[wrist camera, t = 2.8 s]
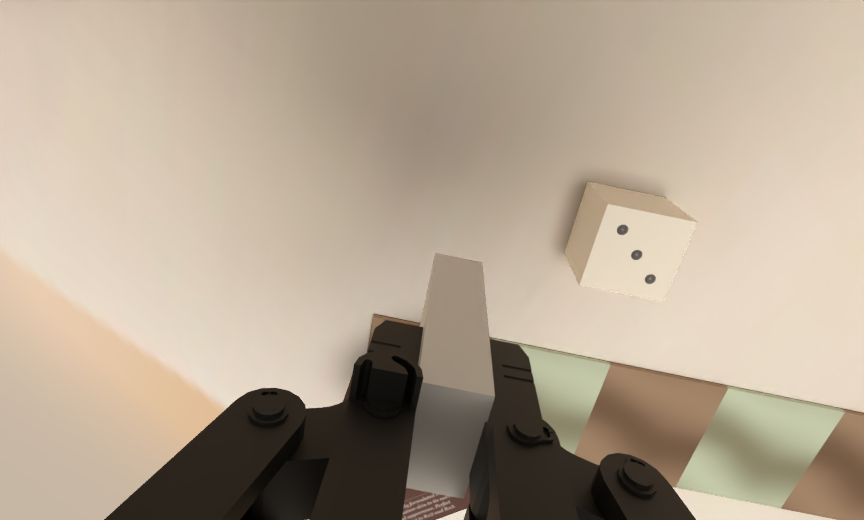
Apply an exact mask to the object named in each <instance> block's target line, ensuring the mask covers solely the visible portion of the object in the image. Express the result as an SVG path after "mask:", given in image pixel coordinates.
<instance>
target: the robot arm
mask: <svg viewBox="0 0 864 520" xmlns="http://www.w3.org/2000/svg"><path fill="white" fill-rule="evenodd" d="M531 371H532V370H531V365H530V360H529V357H528V356H527V354H526V353H525V352H524V351H523V349H522V348H521V347H520V346H519V345H518V344H513V343H508V342H503V341H498V340H493V339H489V328H488V318H487V307H486V297H485V287H484V276H483V266H482V262H477V261H472V260H467V259H462V258H457V257H452V256H447V255H442V254H437V253H435V256H434V261H433V266H432V271H431V275H430V280H429V285H428V289H427V294H426V299H425V304H424V308H423V313H422V318H421V322H420V326H415V325H410V324H405V323H400V322H395V321H390V320H385V321H384V322H382V323H381V324H380V325H379V326H377V327H376V328H375V329H374V333H373V336H372V339H371V342H370V345H369V348H368V352H367V353H366V354H365V355H363V356H361V357H359V358H358V360H357V361H356V363H355V364H354V369H353V375H352V382H351V388H350V394H349V398H348V399H347V400H345V401H343V402H342V403H340V404H337V405H334V406H331V407H323V408H308V409H305V404H304V403H303V402H302V400H301V399H300V398H299V397H298V396H297V395H295V394H293V393H291V392H290V391H287V390H282V389H278V388H261V389H258V390H254V391H251V392H248V393H246V394H245V395H243V396H241V397H240V398H238V399H237V400H236V401H235V402H233V403H232V404H231V405H230V406H229V407H228V408H227V409H226V410H225V411H224V412H222V413H221V414H220V415H219V416H218V417H217V418H216V419H215V420H214V421H212V423H210V424H209V425H208V426H207V427H206V428H205V429H204V430H203V431H201V432H200V433H199V434H198V435H197V436H196V437H195V438H194V439H193V440H192V441H190V442H189V443H188V444H187V445H186V446H185V447H184V448H183V449H182V450H181V451H179V452H178V453H177V454H176V455H175V456H174V457H173V458H172V459H171V460H170V461H169V462H167V463H166V464H165V465H164V466H163V467H162V468H161V469H160V470H158V471H157V472H156V473H155V474H154V475H153V476H152V477H151V478H150V479H149V480H148V481H146V482H145V483H144V484H143V485H142V486H141V487H140V488H139V489H138V490H136V491H135V492H134V493H133V494H132V495H131V496H130V497H129V498H128V499H127V500H125V501H124V502H123V503H122V504H121V505H120V506H119V507H118V508H117V509H116V510H114V511H113V512H112V513H111V514H110V515H109V516H108V517H107V518H106V519H104V520H307V519H310V520H402V517H403V509H404V501H405V493H406V488H409V489H414V490H419V491H425V492H430V493H435V494H441V495H446V496H451V497H456V498H462V499H464V498H465V495H466V491H467V488H468V485H469V491H470V501H469V504H468V507H467V511H466V514H465V517H464V520H696V519H695V518H694V516H693V515H692V514H691V512H690V511H689V509H688V508H687V507H686V505H685V504H684V503H683V501H682V500H681V499H680V497H679V496H678V494H677V493H676V492H675V490H674V489H673V488H672V486H671V485H670V484H669V482H668V481H667V480H666V479H665V478H664V476H663V475H662V474H661V473H660V472H659V471H658V470H657V469H656V468H654V467H653V466H651V465H650V464H648V463H647V462H645V461H644V460H641V459H639V458H637V457H634V456H632V455H629V454H622V453H614V454H608V455H607V456H606V457H604V458H603V459H602V460H601V462H600V465H597V464H594V463H592V462H590V461H587V460H585V459H583V458H581V457H578V456H576V455H574V454H572V453H570V452H569V451H567V450H565V449H564V448H563V447H561V445H560V441H559V438H558V436H557V434H556V432H555V430H554V429H553V428H552V427H551V426H550V425H549V424H548V423H547V422H546V421H544V420H543V419H542V415H541V411H540V406H539V401H538V397H537V392H536V388H535V384H534V379H533V374H532V373H531Z"/></svg>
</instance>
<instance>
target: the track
mask: <svg viewBox="0 0 864 520" xmlns="http://www.w3.org/2000/svg"><path fill="white" fill-rule="evenodd" d="M385 320H390V321H395V322H400V323H405V324H410V325H415V326H420V323H415V322H410V321H405V320H400V319H395V318H391V317H386V316H381V315H376V314H374V316H373V320H372V326H371V332H370V338H369V344H368V348H369V345H370V342H371V339H372V336H373V333H374V329H375V328H376V327H377V326H379V325H380V324H381V323H382V322H384V321H385ZM489 339H493V340H498V341H503V342H508V343H513V344H518V345H519V346H520V347H521V348H522V349H523V351H524V352H525V353H526V354H527V356H528V357H529V360H530V365H531V370H532V371H531V373H532V374H533V379H534V384H535V388H536V392H537V397H538V401H539V406H540V411H541V415H542V419H543V420H544V421H546V422H547V423H548V424H549V425H550V426H551V427H552V428H553V429H554V430H555V432H556V434H557V436H558V438H559V441H560V445H561V447H563V448H564V449H565V450H567V451H569V452H570V453H572V454H574V455H576V456H578V457H581V458H583V459H585V460H587V461H590V462H592V463H594V464H597V465H600V462H601V460H602V459H603V458H604V457H606V456H607V455H608V454H614V453H622V454H629V455H632V456H634V457H637V458H639V459H641V460H644V461H645V462H647V463H648V464H650V465H651V466H653V467H654V468H656V469H657V470H658V471H659V472H660V473H661V474H662V475H663V476H664V478H665V479H666V480H667V481H668V482H669V484H670V485H671V486H672V487H676V488H681V489H686V490H691V491H696V492H701V493H706V494H711V495H716V496H721V497H726V498H731V499H736V500H741V501H746V502H751V503H757V504H762V505H767V506H772V507H777V508H782V509H787V510H792V511H797V512H802V513H807V514H812V515H817V516H822V517H827V518H832V519H837V520H864V413H860V412H855V411H850V410H845V409H840V408H835V407H830V406H825V405H820V404H815V403H810V402H805V401H800V400H795V399H791V398H786V397H781V396H776V395H771V394H766V393H761V392H756V391H751V390H746V389H741V388H736V387H731V386H726V385H721V384H716V383H711V382H707V381H702V380H697V379H692V378H687V377H682V376H677V375H672V374H667V373H662V372H657V371H652V370H647V369H642V368H637V367H632V366H628V365H623V364H618V363H613V362H608V361H603V360H598V359H593V358H588V357H583V356H578V355H573V354H568V353H563V352H558V351H553V350H549V349H544V348H539V347H534V346H529V345H524V344H519V343H514V342H509V341H504V340H499V339H494V338H489ZM367 352H368V350H367Z"/></svg>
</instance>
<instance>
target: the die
mask: <svg viewBox="0 0 864 520" xmlns="http://www.w3.org/2000/svg"><path fill="white" fill-rule="evenodd" d="M697 224H698V222H697V221H695V220H694V219H693V218H691V217H690V216H689V215H687V214H686V213H685V212H684V211H682V210H681V209H680V208H678V207H677V206H676V205H674V204H673V203H672V202H670V201H669V200H668V199H666V198H665V197H660V196H655V195H651V194H646V193H641V192H636V191H631V190H627V189H622V188H617V187H612V186H607V185H603V184H598V183H593V182H587V185H586V188H585V191H584V195H583V198H582V201H581V204H580V207H579V210H578V213H577V216H576V219H575V222H574V225H573V228H572V231H571V234H570V237H569V240H568V243H567V247H566V250H565V253H564V254H565V256H566V258H567V260H568V262H569V264H570V266H571V269H572V271H573V273H574V275H575V277H576V279H577V281H578V283H579V285H580V286H585V287H590V288H595V289H600V290H605V291H610V292H615V293H619V294H624V295H629V296H634V297H639V298H644V299H649V300H654V301H659V302H664V300H665V298H666V295H667V293H668V291H669V288H670V286H671V284H672V282H673V279H674V277H675V275H676V272H677V270H678V268H679V265H680V263H681V261H682V258H683V256H684V254H685V252H686V249H687V247H688V245H689V242H690V240H691V238H692V235H693V233H694V231H695V228H696V226H697Z"/></svg>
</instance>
